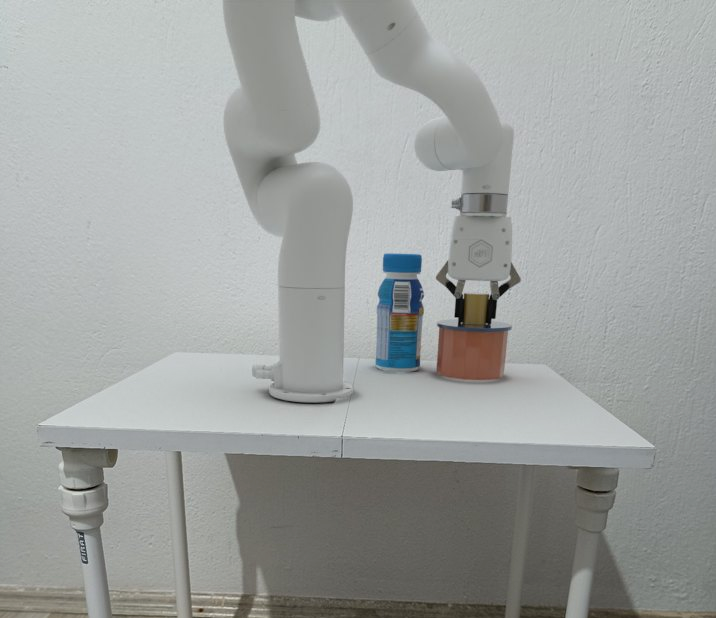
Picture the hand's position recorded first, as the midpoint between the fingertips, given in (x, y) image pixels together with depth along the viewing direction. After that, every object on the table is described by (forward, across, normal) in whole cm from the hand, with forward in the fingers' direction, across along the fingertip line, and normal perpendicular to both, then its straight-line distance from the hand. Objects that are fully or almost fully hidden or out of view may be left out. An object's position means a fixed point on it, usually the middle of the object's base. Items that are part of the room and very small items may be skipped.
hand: (474, 321), depth 113 cm
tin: (+9, 0, 0) cm, 9 cm away
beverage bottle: (+10, -13, +4) cm, 17 cm away
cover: (+1, 0, 0) cm, 1 cm away
